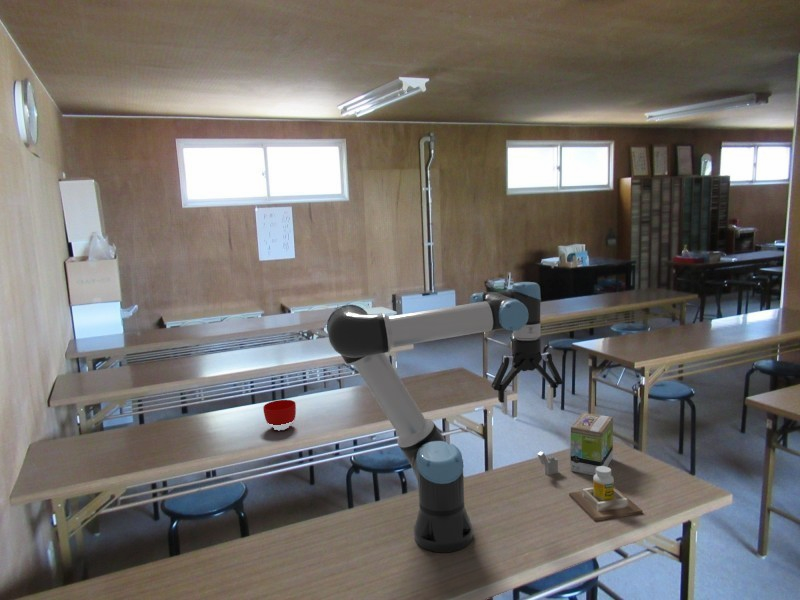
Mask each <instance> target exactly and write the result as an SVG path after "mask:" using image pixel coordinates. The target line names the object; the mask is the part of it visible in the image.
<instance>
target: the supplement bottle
mask: <svg viewBox="0 0 800 600" xmlns="http://www.w3.org/2000/svg"><path fill="white" fill-rule="evenodd" d="M592 479H593V481H592V482H593V486H592V487H594V497H595V498H596V499H597V500H598V501H599V502H603V501H609V500H614V487H615V479H614V476H612V469H611V468H610V467H608V466H607V467H606V466H598V467H596V474H595V475H593V478H592Z"/></svg>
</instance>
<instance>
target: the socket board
mask: <svg viewBox="0 0 800 600" xmlns="http://www.w3.org/2000/svg"><path fill="white" fill-rule="evenodd" d="M568 496H569V497H570V498H571V499H572V500H573V501H574V502H575V503H576V504H577V505H578V506H579V507H580V508H581V509H582V511H584V513H585V514H587V516H589V517H590V518H591V520H592V521H593V522H596V521H601V520H602V521H603V520H609V519H615V518H620V517H627V516H634V515H639V514H643V513H644V512H643V509H642V508H640V507H639V506H638V505H637V504H635V503H634V502H633V501H632V500H631V499H630V498H628V497H627V496H626V495H625V494H624V493H622V492H621V491H620V490H619V489H617V488H616V486H614V500H609V501H603V502H599V501H598V500H597V499H596V498H595V497H594V487H593V486H592V487H587V488H582V490H580V491H574V492H573V491H572V492H569V493H568Z"/></svg>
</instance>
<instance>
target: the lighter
mask: <svg viewBox="0 0 800 600" xmlns="http://www.w3.org/2000/svg"><path fill="white" fill-rule="evenodd" d="M536 455H537V457H538V458H539V461H540V463H541V464H542V465H544V475H546V476H548V477H549V476H552V475H555V474H557V473H559V460H558V458H556V457H555V456H552V455H551V456H548V457H546V454H545V453H544V452H543V451H539V452H538V453H537V454H536Z"/></svg>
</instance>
